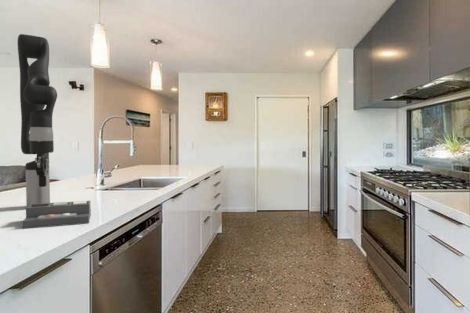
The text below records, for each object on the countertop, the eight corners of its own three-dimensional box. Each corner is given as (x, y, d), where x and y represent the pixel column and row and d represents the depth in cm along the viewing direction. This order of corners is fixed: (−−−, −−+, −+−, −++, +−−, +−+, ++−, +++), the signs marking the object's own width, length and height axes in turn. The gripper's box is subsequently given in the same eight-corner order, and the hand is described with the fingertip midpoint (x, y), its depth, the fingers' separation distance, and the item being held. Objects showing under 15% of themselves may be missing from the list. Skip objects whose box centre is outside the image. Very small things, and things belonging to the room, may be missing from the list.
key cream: (74, 206, 126) (73, 201, 125) (86, 206, 127) (86, 201, 127) (72, 209, 121) (72, 203, 121) (86, 208, 123) (86, 203, 123)
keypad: (31, 219, 123) (31, 203, 123) (90, 214, 130) (90, 200, 130) (22, 228, 110) (22, 210, 110) (88, 223, 117) (88, 206, 117)
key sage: (54, 208, 123) (54, 202, 123) (67, 207, 125) (67, 202, 125) (52, 210, 119) (52, 205, 119) (66, 209, 120) (66, 204, 120)
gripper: (34, 139, 123) (35, 184, 124) (25, 139, 111) (26, 189, 112) (56, 140, 126) (57, 183, 127) (49, 139, 114) (51, 188, 114)
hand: (42, 186), depth 119 cm, fingers closed
